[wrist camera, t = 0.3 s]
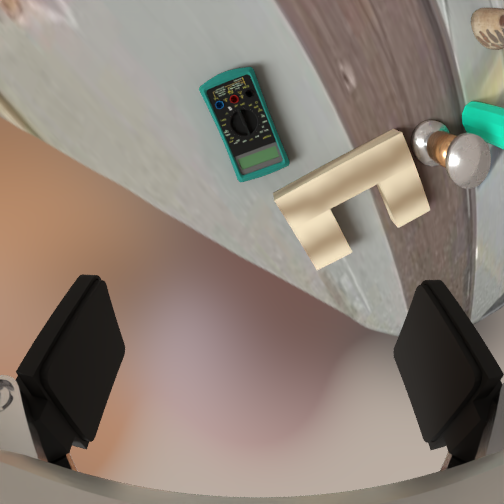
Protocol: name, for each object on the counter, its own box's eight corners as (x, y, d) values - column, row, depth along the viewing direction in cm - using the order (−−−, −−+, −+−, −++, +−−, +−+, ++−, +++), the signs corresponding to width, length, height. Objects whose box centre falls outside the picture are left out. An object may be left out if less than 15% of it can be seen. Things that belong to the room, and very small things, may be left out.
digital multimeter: (250, 63, 37) (250, 61, 34) (289, 162, 44) (291, 167, 41) (199, 83, 38) (195, 83, 36) (240, 179, 45) (239, 185, 42)
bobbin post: (404, 130, 40) (442, 147, 31) (439, 113, 38) (483, 126, 29) (420, 171, 43) (457, 197, 33) (453, 153, 41) (495, 175, 32)
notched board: (273, 193, 45) (274, 200, 43) (393, 128, 40) (402, 132, 37) (314, 260, 51) (317, 270, 48) (422, 202, 46) (430, 210, 43)
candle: (491, 131, 39) (538, 151, 28) (466, 141, 40) (513, 162, 30) (483, 97, 36) (533, 109, 26) (457, 105, 37) (507, 118, 27)
